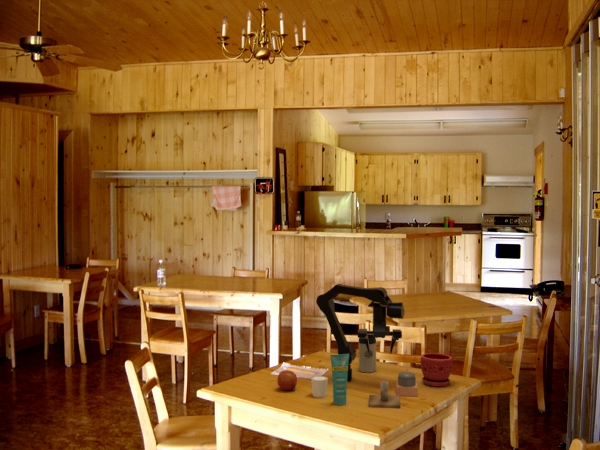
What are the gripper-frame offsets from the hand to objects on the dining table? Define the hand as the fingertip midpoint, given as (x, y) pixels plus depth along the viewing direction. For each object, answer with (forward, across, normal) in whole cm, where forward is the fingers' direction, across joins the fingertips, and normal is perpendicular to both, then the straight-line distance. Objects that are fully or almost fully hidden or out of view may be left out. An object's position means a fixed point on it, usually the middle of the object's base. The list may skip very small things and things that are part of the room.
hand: (379, 353), depth 258 cm
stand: (+13, +11, -12) cm, 21 cm away
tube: (+13, -15, -28) cm, 34 cm away
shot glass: (+13, -24, -19) cm, 33 cm away
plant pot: (+13, +24, +3) cm, 28 cm away
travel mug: (+13, -6, +20) cm, 25 cm away
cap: (+10, +11, -12) cm, 19 cm away
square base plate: (+13, +2, -25) cm, 28 cm away
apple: (+13, -38, -13) cm, 42 cm away
